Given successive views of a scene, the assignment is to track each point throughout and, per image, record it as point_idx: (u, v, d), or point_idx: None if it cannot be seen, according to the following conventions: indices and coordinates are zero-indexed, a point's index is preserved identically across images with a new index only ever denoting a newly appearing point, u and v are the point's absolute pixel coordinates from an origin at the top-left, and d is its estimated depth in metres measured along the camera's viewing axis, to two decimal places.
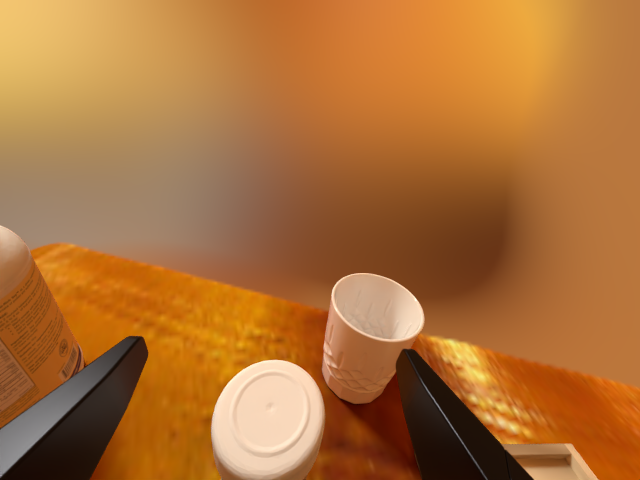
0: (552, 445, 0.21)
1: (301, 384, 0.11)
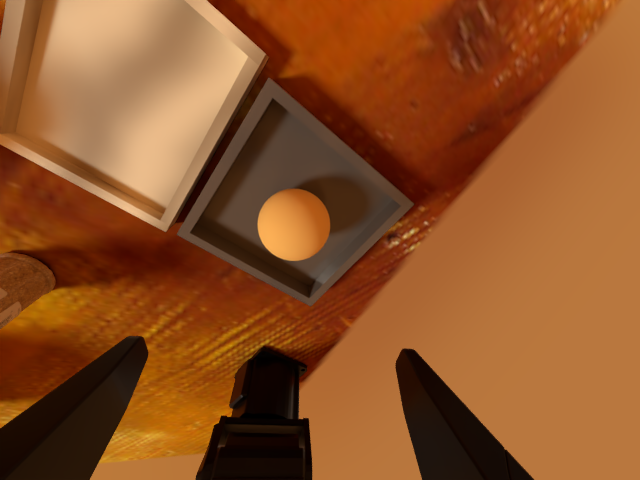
0: None
1: None
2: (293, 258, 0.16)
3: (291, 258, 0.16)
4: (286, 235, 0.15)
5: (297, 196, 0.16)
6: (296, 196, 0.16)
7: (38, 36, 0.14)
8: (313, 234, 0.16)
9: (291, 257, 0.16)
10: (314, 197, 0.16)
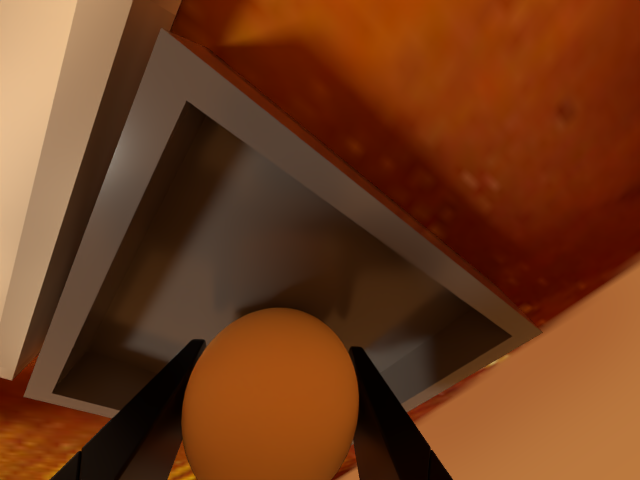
0: None
1: None
2: None
3: None
4: None
5: (277, 369, 0.06)
6: (275, 368, 0.06)
7: None
8: (322, 478, 0.06)
9: None
10: (322, 351, 0.07)
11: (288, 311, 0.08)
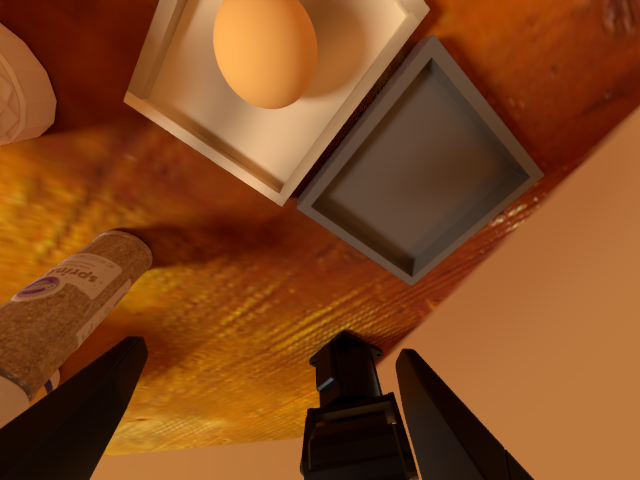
0: None
1: None
2: (265, 85, 0.11)
3: (262, 85, 0.11)
4: (251, 29, 0.10)
5: None
6: None
7: None
8: (292, 36, 0.11)
9: (262, 80, 0.11)
10: None
11: None
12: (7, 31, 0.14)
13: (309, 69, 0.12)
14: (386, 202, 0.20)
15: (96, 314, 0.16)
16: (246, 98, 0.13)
